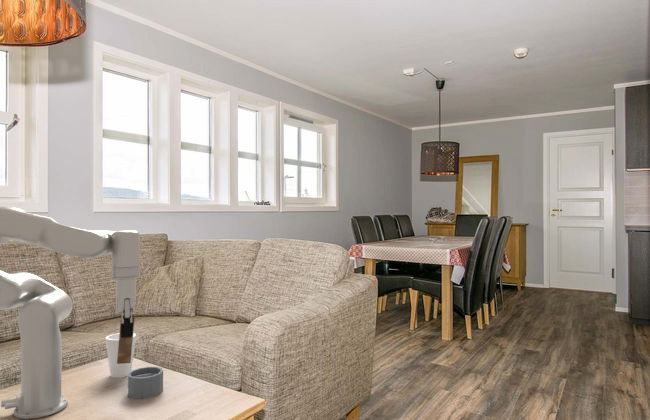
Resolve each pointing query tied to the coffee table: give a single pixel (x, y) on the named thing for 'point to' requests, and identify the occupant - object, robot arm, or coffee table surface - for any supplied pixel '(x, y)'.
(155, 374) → the grey hollow box
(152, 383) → the faceted hollow tube
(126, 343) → the brown wooden bar
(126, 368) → the foam cup
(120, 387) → the coffee table surface
